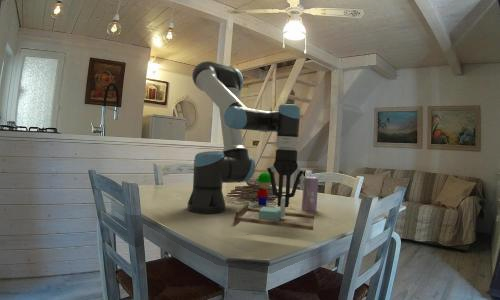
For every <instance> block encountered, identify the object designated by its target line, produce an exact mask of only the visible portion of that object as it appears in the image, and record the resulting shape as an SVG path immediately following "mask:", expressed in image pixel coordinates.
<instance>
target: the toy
mask: <svg viewBox="0 0 500 300" xmlns="http://www.w3.org/2000/svg"><path fill="white" fill-rule="evenodd" d="M256 182H257V184H258V187H259V188H258V190H257V193H256V196H255V198H256V199H258V206H263V207H267V199H270V197H269V196H268V195H269V194H268V189H269V188H270V186H272V185H271V179H270V174H269V172H265V171H264V172H262V173H259V175H258V177H257V178H256Z"/></svg>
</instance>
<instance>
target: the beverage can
mask: <svg viewBox="0 0 500 300" xmlns="http://www.w3.org/2000/svg"><path fill="white" fill-rule="evenodd" d="M318 190H319V178H318V177H317V176H303V180H302V198H301V201H302V202H301V210H302V211H304V212H310V213H311V212H317V208H318V206H317V205H318Z"/></svg>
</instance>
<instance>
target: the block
mask: <svg viewBox="0 0 500 300" xmlns="http://www.w3.org/2000/svg"><path fill="white" fill-rule="evenodd" d="M259 209H260V210H259V218H258V219H261V220H270V221H279V220H280V218H282V217H280V207H271V206H262V207H261V208H259Z"/></svg>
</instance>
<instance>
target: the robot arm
mask: <svg viewBox="0 0 500 300" xmlns="http://www.w3.org/2000/svg"><path fill="white" fill-rule="evenodd" d="M191 76H192V77H191V78H192V81H193V84H194V85H195V86H196V87H197V89H199V90H200V92H204V93H205V94H206V95H207V96H208V97H209V99H210V100H211V101H212V102H213V103H214V104H215V105H216V106H217V108H218V110H219V118H220V126H221V135H222V142H223V149H222V151H221V150H220V151H219V150H214V151H213V150H210V151H202V152H201V151H200V152H198V153H196V154H195V156H194V162H193V181H192V182H193V183H192V191H191V194H190V196H189V199H188V201H187V207H186V208H187V210H188V211H189V212H192V213H197V214H217V213H222V212H224V211H226V200H225V197H224V194H223V183H241V182H242V183H243V182H248V181H249V180H251V179H252V178H253V175H254V174H255V171H256V170H255V169H256V161H255V158H254V157H253V156H252V155H250V154H249V150H248V148H247V147H245V146H244V142H243V139H244V138H243V133H242V130H246V131H257V132H261V133H262V132H263V133H268V132H269V133H271V132H273V133H274V132H275V133H277V134H276V143H275V144H276V145H275V147H276V148H277V149H276V150H275V160H274V162H273V165H271V166H269V167H267V169H266V170H267V173H269V174H270V179H271V185H270V186H271V190H272V195H273V196H276V197H277V207H279V208H280V217H281V218H285V216H286V215H285V212H286V208H288V207H289V205H290V199H291V198H294V197H295V195H296V192H297V188H298V186H299V183H300V179H301V177H302V175H304V170H303V169H301V168H300V167H299V165H298V151H297V149H298V148H299V131H300V120H301V109H300V106H299V105H297V104H291V103H286V104H285V103H283V104H282V103H281V104H280V105H278V110H276V111H267V110H262V109H257V108H256V109H254V108H248V107H247V106H245V105H244V103H243V102H242V101H241V100H239V98H238V96H239V94H240V91H242V88H243V85H244V78H243V77H244V76H243V75H242V72H241V71H240V69H238V68H237V67H233V66H231V65H225V64H220V63H217V62H213V61H209V60H207V61H202V62H200V63H198V64H197V65H196V66H195V67H194V69H193V71H192V75H191ZM275 170H276V173H277V174H278V188H277V184H276V183H277V182H276V178H275V177H276V176H275ZM295 172H296V176H295V181H294V183H293V186H292V189H291V178H292V175H293V174H294V173H295ZM284 176H285V177H286V178H285V179H286V180H285V181H286V182H285V194H284V195H285V196H283V189H284V188H283V186H284Z"/></svg>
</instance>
